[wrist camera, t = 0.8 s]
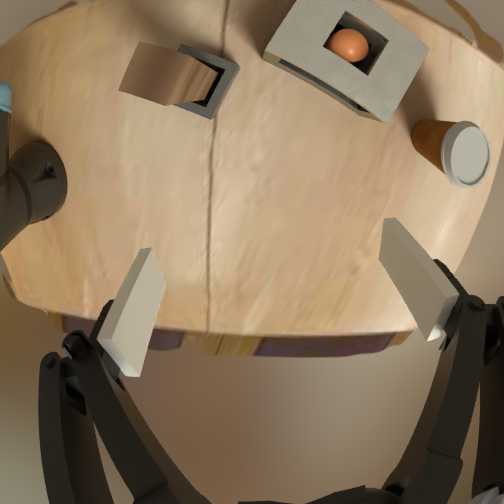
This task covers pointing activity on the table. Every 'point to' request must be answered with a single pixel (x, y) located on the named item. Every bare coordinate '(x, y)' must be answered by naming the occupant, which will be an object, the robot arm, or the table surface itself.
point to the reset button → (348, 45)
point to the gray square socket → (222, 87)
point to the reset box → (340, 71)
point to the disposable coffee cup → (454, 150)
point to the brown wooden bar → (167, 76)
